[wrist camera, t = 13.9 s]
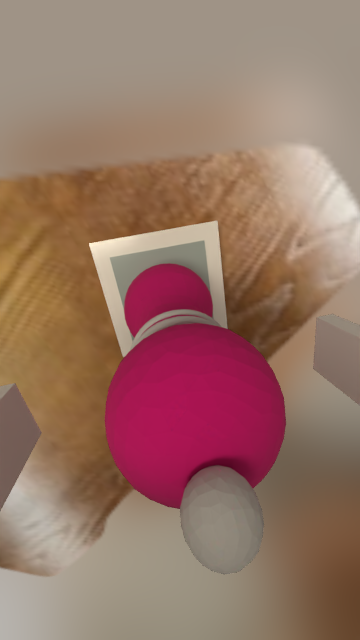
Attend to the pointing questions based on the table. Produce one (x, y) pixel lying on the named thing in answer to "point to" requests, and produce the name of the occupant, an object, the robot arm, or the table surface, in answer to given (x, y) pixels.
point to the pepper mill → (194, 416)
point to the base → (153, 249)
